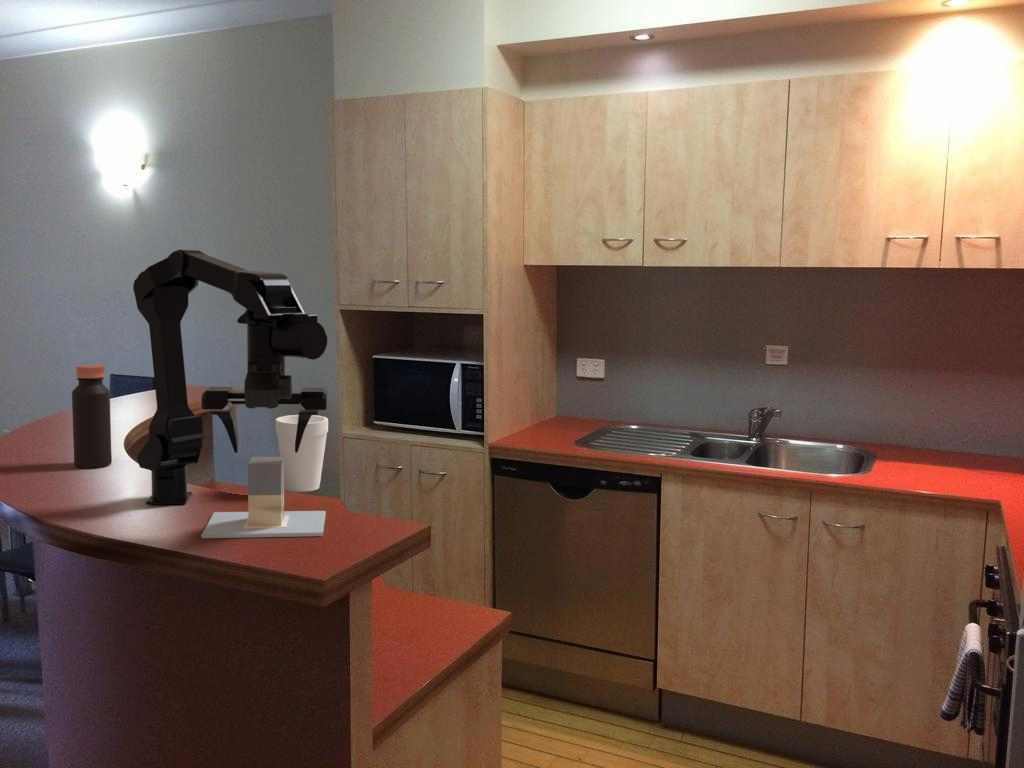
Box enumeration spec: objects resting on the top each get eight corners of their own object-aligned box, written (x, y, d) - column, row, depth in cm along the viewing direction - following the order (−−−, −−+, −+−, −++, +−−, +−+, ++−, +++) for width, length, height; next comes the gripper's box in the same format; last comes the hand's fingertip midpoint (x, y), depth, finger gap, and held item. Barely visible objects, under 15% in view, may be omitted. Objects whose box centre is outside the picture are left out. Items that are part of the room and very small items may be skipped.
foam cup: (337, 488, 166) (338, 420, 164) (296, 496, 159) (295, 425, 157) (307, 478, 172) (307, 413, 170) (266, 486, 165) (265, 418, 163)
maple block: (252, 517, 143) (252, 487, 143) (283, 516, 144) (283, 486, 144) (248, 526, 139) (248, 495, 138) (281, 525, 139) (281, 494, 139)
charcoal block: (252, 487, 143) (252, 456, 142) (284, 486, 144) (284, 456, 143) (248, 495, 138) (247, 463, 137) (281, 494, 139) (281, 463, 138)
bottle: (97, 470, 173) (93, 368, 170) (66, 467, 174) (62, 366, 172) (118, 462, 180) (116, 365, 177) (89, 460, 181) (86, 363, 178)
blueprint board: (214, 515, 146) (214, 511, 146) (325, 514, 149) (325, 510, 149) (201, 538, 134) (201, 533, 134) (322, 536, 137) (322, 531, 137)
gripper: (194, 359, 128) (195, 464, 130) (325, 361, 131) (324, 463, 134) (207, 351, 139) (208, 448, 141) (328, 353, 142) (327, 448, 144)
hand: (266, 452), depth 140 cm, fingers open, 9 cm apart
